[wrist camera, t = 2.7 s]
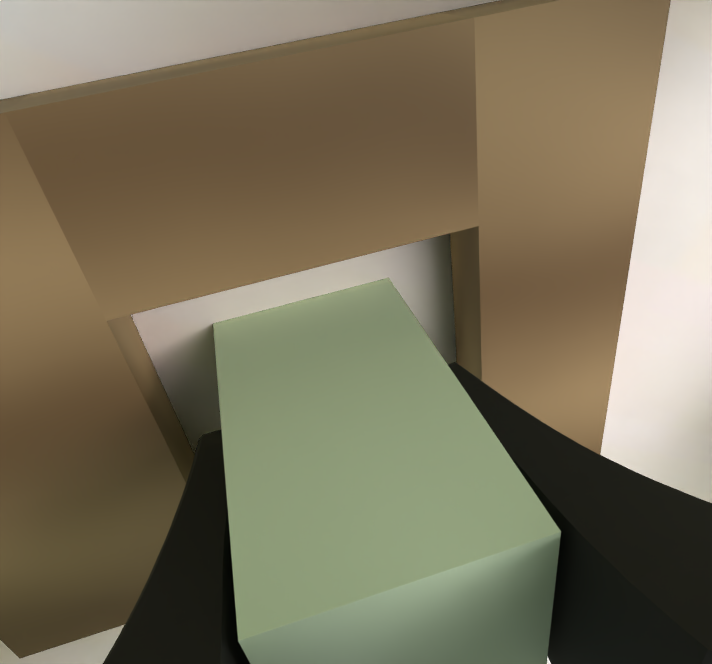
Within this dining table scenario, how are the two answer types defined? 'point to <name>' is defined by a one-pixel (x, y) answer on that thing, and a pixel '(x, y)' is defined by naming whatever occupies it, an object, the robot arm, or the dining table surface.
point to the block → (372, 495)
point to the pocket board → (298, 247)
